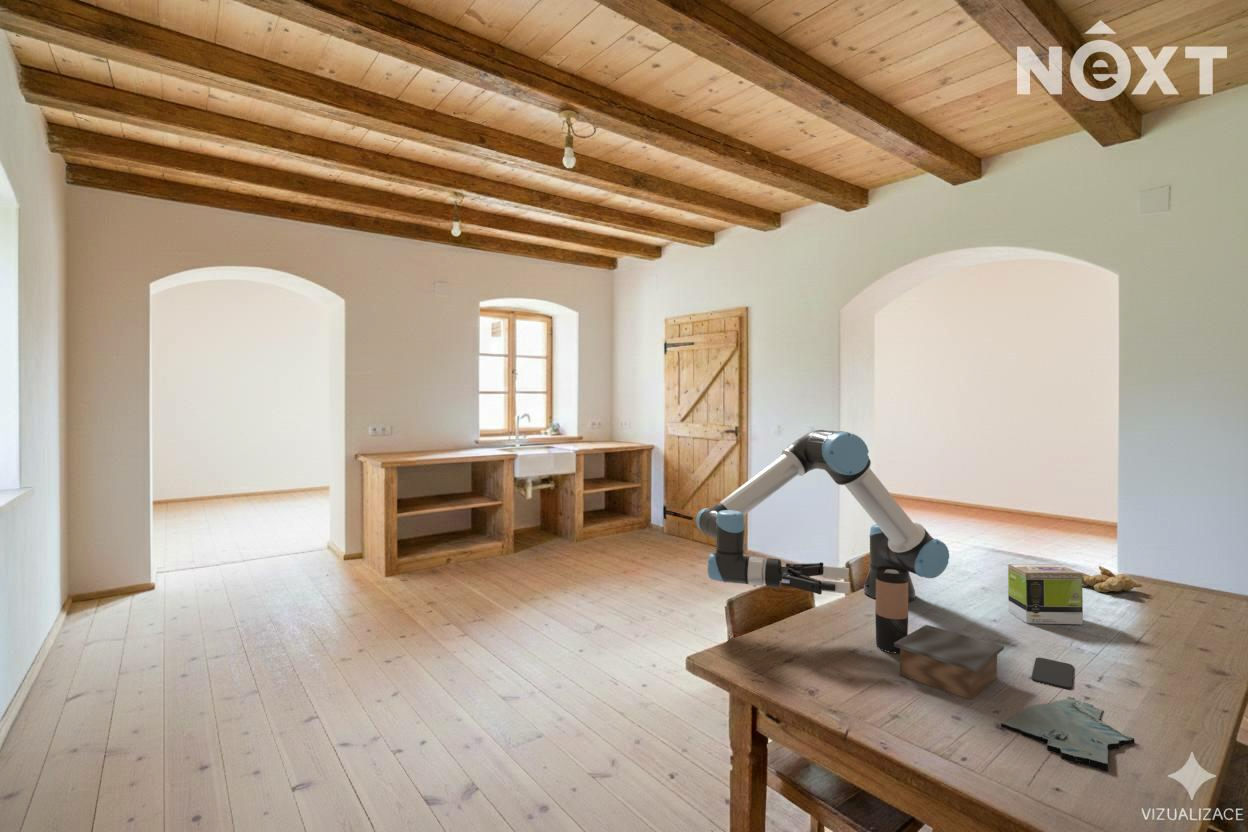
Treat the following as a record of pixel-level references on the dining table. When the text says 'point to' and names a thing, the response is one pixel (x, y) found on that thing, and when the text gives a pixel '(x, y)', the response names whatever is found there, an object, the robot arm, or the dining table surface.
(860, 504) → the robot arm
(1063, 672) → the phone
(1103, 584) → the ginger root
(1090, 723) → the decorative slab
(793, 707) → the dining table surface
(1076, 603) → the tea box
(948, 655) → the podium
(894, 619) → the travel mug
